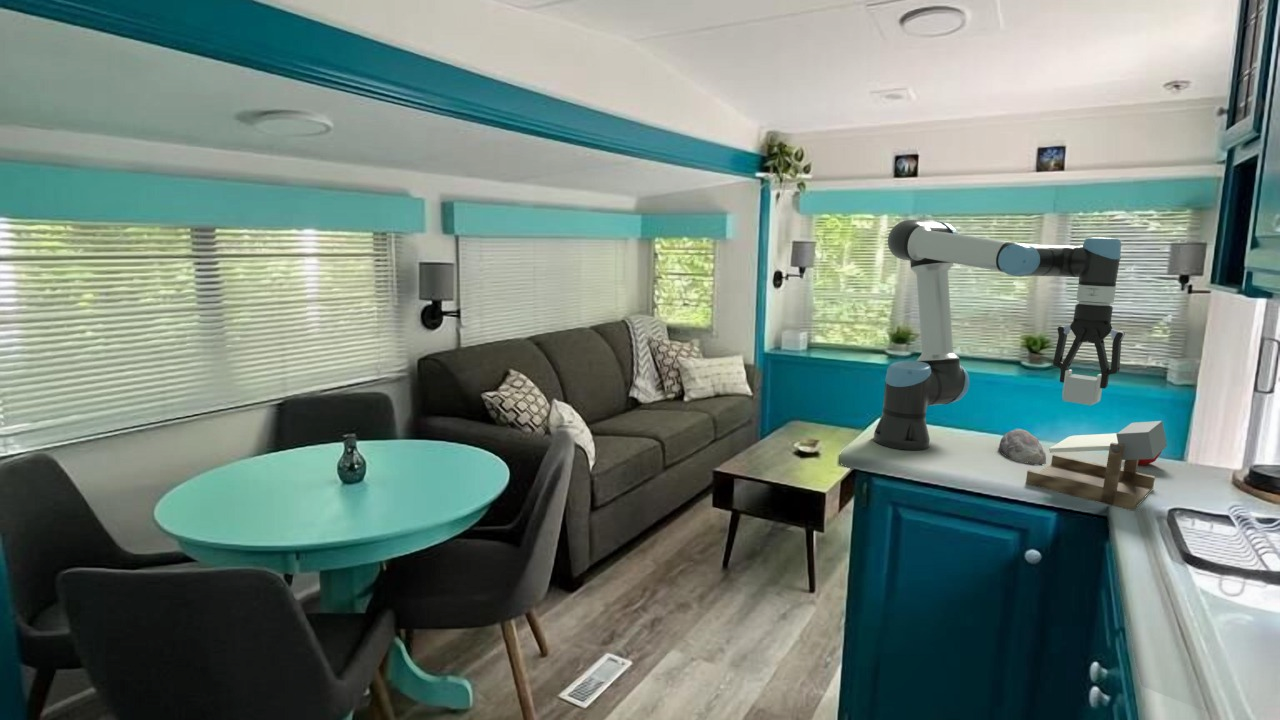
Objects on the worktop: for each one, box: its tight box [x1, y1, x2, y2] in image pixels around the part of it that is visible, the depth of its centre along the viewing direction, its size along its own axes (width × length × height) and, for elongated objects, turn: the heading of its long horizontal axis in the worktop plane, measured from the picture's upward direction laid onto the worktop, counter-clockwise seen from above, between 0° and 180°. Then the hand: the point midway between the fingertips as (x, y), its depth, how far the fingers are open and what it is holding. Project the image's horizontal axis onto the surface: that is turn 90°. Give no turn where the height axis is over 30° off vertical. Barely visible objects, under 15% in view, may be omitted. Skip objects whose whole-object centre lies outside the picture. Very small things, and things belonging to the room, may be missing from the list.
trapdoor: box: [1048, 420, 1168, 461], centre depth 165 cm, size 20×18×6 cm
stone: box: [998, 428, 1047, 465], centre depth 193 cm, size 17×10×10 cm
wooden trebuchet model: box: [1025, 443, 1156, 512], centre depth 168 cm, size 22×22×14 cm
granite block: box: [1062, 373, 1098, 406], centre depth 168 cm, size 6×6×6 cm
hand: (1080, 398), depth 168 cm, fingers closed on granite block, 6 cm apart
